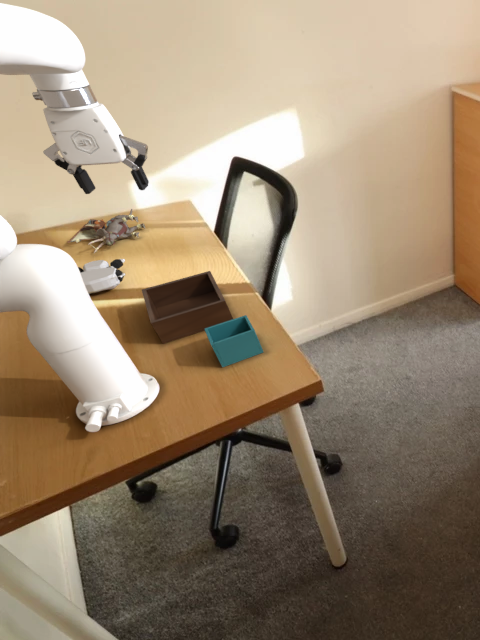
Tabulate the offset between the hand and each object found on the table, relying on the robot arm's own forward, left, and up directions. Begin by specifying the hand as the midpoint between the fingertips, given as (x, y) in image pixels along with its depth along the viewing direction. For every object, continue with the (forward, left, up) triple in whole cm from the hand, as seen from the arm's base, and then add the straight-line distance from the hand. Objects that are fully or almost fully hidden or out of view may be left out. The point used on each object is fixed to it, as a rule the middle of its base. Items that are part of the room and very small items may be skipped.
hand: (117, 189), depth 97 cm
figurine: (+40, +20, -27) cm, 53 cm away
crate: (-10, -5, -27) cm, 29 cm away
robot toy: (+13, +17, -27) cm, 35 cm away
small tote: (-28, -15, -27) cm, 41 cm away
